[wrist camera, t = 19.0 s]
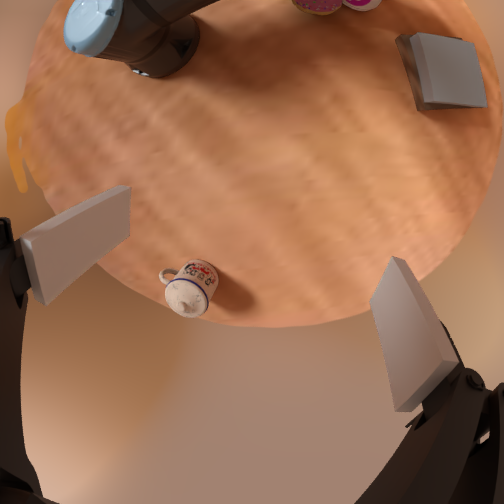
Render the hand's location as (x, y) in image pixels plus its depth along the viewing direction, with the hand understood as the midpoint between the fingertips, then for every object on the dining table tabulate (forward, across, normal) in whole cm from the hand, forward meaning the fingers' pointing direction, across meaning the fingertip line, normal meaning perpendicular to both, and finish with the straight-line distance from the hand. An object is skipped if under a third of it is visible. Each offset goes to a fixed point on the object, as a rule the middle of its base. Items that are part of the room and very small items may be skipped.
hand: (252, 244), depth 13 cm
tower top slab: (+33, +23, +25) cm, 48 cm away
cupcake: (+37, -1, +30) cm, 48 cm away
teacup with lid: (+37, -14, -29) cm, 49 cm away
